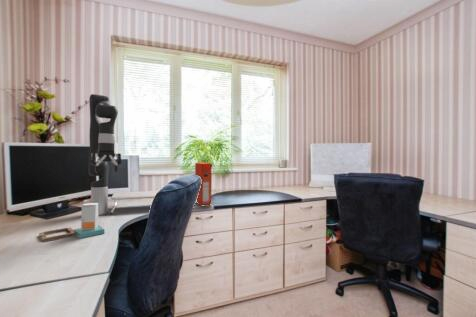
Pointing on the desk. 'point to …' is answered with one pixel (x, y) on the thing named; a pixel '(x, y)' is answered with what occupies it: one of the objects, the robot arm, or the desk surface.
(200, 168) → the file binder
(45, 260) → the desk surface
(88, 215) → the skincare box
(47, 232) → the wooden square frame
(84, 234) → the tile
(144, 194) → the monitor stand
